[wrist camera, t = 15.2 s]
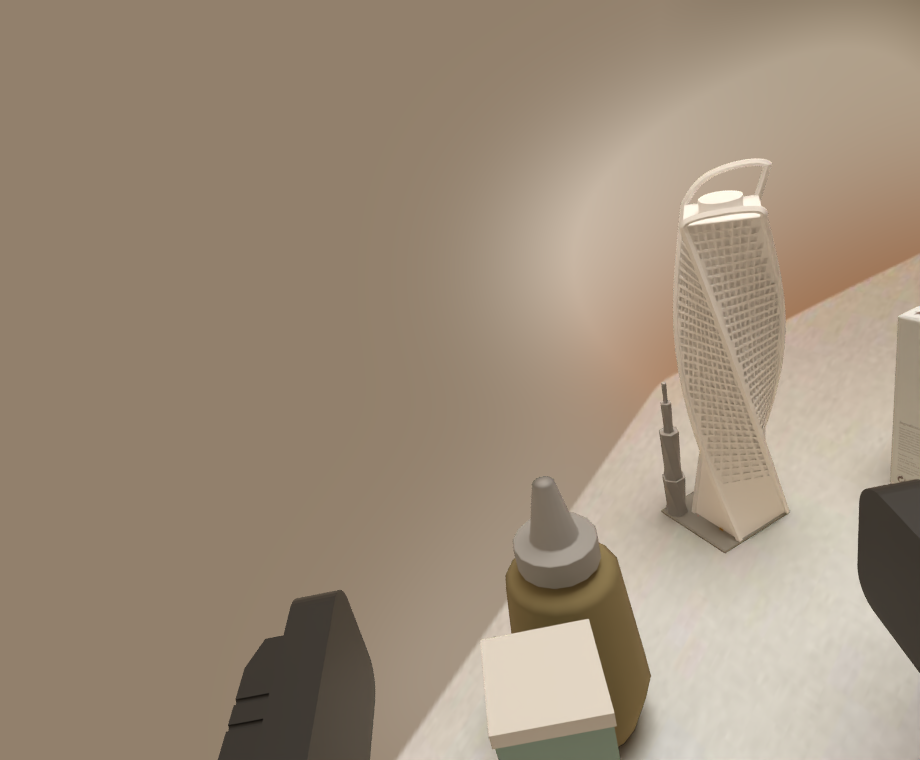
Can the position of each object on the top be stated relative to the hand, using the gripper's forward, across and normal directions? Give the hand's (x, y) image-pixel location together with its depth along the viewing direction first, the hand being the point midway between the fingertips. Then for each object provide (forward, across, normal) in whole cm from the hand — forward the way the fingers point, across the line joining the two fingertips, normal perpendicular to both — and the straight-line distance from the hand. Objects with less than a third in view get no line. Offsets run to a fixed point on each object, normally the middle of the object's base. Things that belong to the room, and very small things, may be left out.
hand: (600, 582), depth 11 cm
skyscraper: (+39, -15, +32) cm, 53 cm away
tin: (+14, +2, +29) cm, 32 cm away
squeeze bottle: (+23, 0, +32) cm, 39 cm away
